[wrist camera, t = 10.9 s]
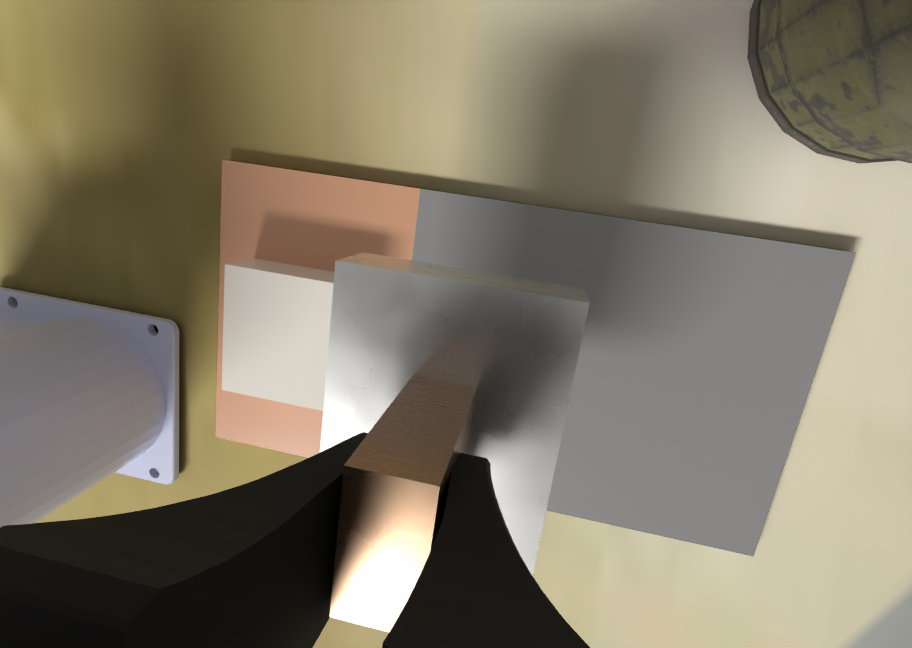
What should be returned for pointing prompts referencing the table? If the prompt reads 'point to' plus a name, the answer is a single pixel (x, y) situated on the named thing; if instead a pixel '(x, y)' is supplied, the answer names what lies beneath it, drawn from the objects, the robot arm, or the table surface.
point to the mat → (586, 337)
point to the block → (276, 331)
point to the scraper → (439, 411)
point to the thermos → (837, 74)
